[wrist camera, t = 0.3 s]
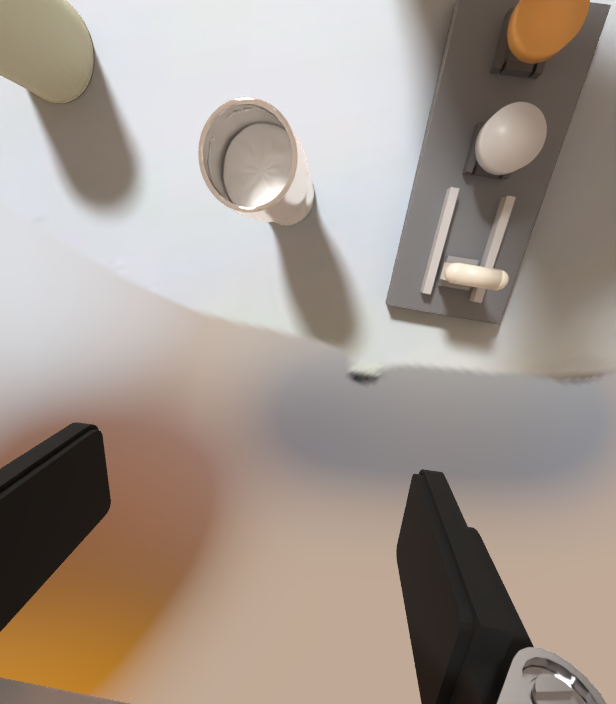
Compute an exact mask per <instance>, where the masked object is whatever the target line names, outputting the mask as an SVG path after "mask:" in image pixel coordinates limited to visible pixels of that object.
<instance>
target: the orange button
mask: <svg viewBox="0 0 616 704" xmlns="http://www.w3.org/2000/svg"><path fill="white" fill-rule="evenodd" d="M589 3H590V0H520V1H519V3H518V4H517V6H516V7H515V9H514V11H513V12H512V15H511V17H510V20H509V23H508V29H507V40H508V45H509V48H510V50H511V52H512V54H513V55H514V56H515V57H516V58H517V59H518V60H520V61H522V62H524V63H529V64H536V63H541V62H544V61H546V60H548V59H550V58H551V57H553V56H554V55H555V54H557V53H558V52H559V51H560V50H561V49H562V48H563V47H564V46H565V45H566V44H567V43H569V42H570V41H571V40H572V39H573V38H574V37H575V36H576V34H577V33H578V32H579V30H580V29H581V27H582V25H583V23H584V22H585V19H586V17H587V13H588V10H589Z"/></svg>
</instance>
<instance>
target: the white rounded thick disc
mask: <svg viewBox="0 0 616 704" xmlns="http://www.w3.org/2000/svg"><path fill="white" fill-rule="evenodd" d="M546 134H547V125H546V120H545V117H544V115H543V113H542V112H541V111H540V109H539V108H537V107H536V106H535V105H533V104H530V103H527V102H515V103H512V104H509V105H507V106H505V107H503V108H502V109H500V110H499V111H498V112H497V113H495V114H494V115H493V116H492V117H491V118H490V119H489V120H488V121H487V122H486V123H485V124H484V125H483V127H482V128H481V130H480V131H479V134H478V136H477V139H476V143H475V155H476V159H477V161H478V163H479V165H480V166H481V167H482V168H483V169H484V170H485V171H486V172H488V173H491V174H494V175H505V174H509V173H511V172H513V171H516V170H518V169H520V168H522V167H524V166H526V165H527V164H529V163H530V162H531V161H532V160H533V159H534V158H535V157H536V156H537V155H538V154H539V152H540V151H541V149H542V147H543V145H544V142H545V139H546Z"/></svg>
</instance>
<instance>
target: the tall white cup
mask: <svg viewBox="0 0 616 704" xmlns="http://www.w3.org/2000/svg"><path fill="white" fill-rule="evenodd" d="M198 155H199V165H200V169H201V173H202V176H203V179H204V181H205V183H206V185H207V187H208V188H209V190H210V191H211V192H212V194H213V195H214V196H215V197H216V198H217V199H218V200H219V201H220V202H221V203H223V204H224V205H226V206H227V207H229V208H231V209H233V210H234V211H236V212H237V213H239V214H241V215H243V216H245V217H247V218H249V219H252V220H256V221H261V222H275V223H277V224H280V225H293V224H296V223H298V222H300V221H301V220H302V219H304V218H305V217H306V216H307V214H308V213H309V211H310V210H311V207H312V205H313V201H314V188H313V184H312V181H311V179H310V177H309V168H308V162H307V159H306V155H305V152H304V149H303V147H302V145H301V143H300V141H299V139H298V137H297V136H296V134H295V133H294V131H293V130H292V128H291V127H290V125H289V123H288V121H287V120H286V119H285V117H284V116H283V115H282V114H281V113H280V112H279V111H278V110H277V109H276V108H275V107H273V106H272V105H270V104H269V103H267V102H265V101H263V100H260V99H256V98H250V97H243V98H237V99H233V100H230V101H228V102H226V103H224V104H223V105H221V106H220V107H219V108H218V109H216V110H215V111H214V112H213V114H212V115H211V116H210V117H209V119H208V120H207V122H206V124H205V126H204V128H203V131H202V133H201V137H200V141H199V151H198Z"/></svg>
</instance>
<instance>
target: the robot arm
mask: <svg viewBox="0 0 616 704" xmlns="http://www.w3.org/2000/svg"><path fill="white" fill-rule="evenodd" d="M110 503H111V499H110V491H109V484H108V475H107V468H106V460H105V453H104V445H103V436H102V433H101V431H99V430H98V428H97V427H96V426H95V425H92V424H84V423H72V424H70V425H69V426H67V427H66V428H64V429H62V430H61V431H59V432H58V433H56V434H54V435H53V436H51V437H50V438H48V439H47V440H45V441H43V442H42V443H40V444H39V445H37V446H35V447H34V448H32V449H31V450H29V451H28V452H26V453H24V454H23V455H21V456H20V457H18V458H17V459H15V460H13V461H12V462H10V463H9V464H7V465H6V466H4V467H2V468H1V469H0V631H1V630H2V629H3V628H4V627H5V626H6V625H7V624H8V623H9V621H10V620H11V619H12V618H13V617H14V616H15V615H16V614H17V613H18V612H19V611H20V609H21V608H22V607H23V606H24V605H25V604H26V603H27V602H28V600H29V599H30V598H31V597H32V596H33V595H34V594H35V593H36V592H37V590H38V589H39V588H40V587H41V586H42V585H43V584H44V583H45V581H47V579H48V578H49V577H50V576H51V575H52V574H53V573H54V572H55V570H56V569H57V568H58V567H59V566H60V565H61V564H62V563H63V562H64V561H65V559H66V558H67V557H68V556H69V555H70V554H71V553H72V552H73V551H74V549H75V548H76V547H77V546H78V545H79V544H80V543H81V542H82V541H83V539H84V538H85V537H86V536H87V535H88V534H89V533H90V532H91V531H92V529H93V528H94V527H95V526H96V525H97V524H98V523H99V522H100V520H102V518H103V517H104V516H105V515H106V514H107V512H108V510H109V508H110ZM397 564H398V569H399V575H400V581H401V587H402V593H403V598H404V604H405V610H406V615H407V622H408V627H409V633H410V639H411V645H412V650H413V656H414V662H415V668H416V674H417V679H418V685H419V691H420V697H421V703H422V704H606V702H605V700H604V699H603V697H602V696H601V694H600V693H599V692H598V690H597V689H596V688H595V687H594V686H593V685H592V684H591V682H590V681H589V680H588V679H587V678H586V677H585V676H584V675H583V674H582V673H581V672H579V671H578V670H577V669H576V668H575V667H574V666H573V665H572V664H570V663H569V662H567V661H566V660H564V659H563V658H561V657H559V656H558V655H556V654H555V653H552V652H549V651H547V650H544V649H542V648H534V647H533V645H532V642H531V640H530V638H529V636H528V634H527V632H526V630H525V628H524V626H523V624H522V622H521V620H520V618H519V615H518V613H517V611H516V609H515V607H514V605H513V603H512V601H511V599H510V597H509V595H508V593H507V590H506V588H505V586H504V584H503V582H502V580H501V578H500V576H499V574H498V572H497V570H496V568H495V565H494V563H493V561H492V559H491V557H490V555H489V553H488V551H487V549H486V547H485V545H484V543H483V540H482V538H481V536H480V535H479V533H478V531H477V530H476V529H474V528H471V527H467V524H466V522H465V520H464V518H463V516H462V513H461V511H460V509H459V507H458V505H457V502H456V500H455V498H454V495H453V493H452V491H451V489H450V487H449V484H448V482H447V480H446V478H445V476H444V474H443V473H442V472H437V471H429V470H421V471H420V472H419V474H413V476H412V480H411V484H410V489H409V494H408V498H407V503H406V507H405V512H404V517H403V521H402V525H401V530H400V534H399V539H398V544H397ZM0 704H129V703H124V702H119V701H114V700H109V699H105V698H99V697H94V696H90V695H85V694H79V693H74V692H70V691H65V690H60V689H55V688H49V687H45V686H40V685H35V684H30V683H24V682H19V681H15V680H10V679H4V678H0Z"/></svg>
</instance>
